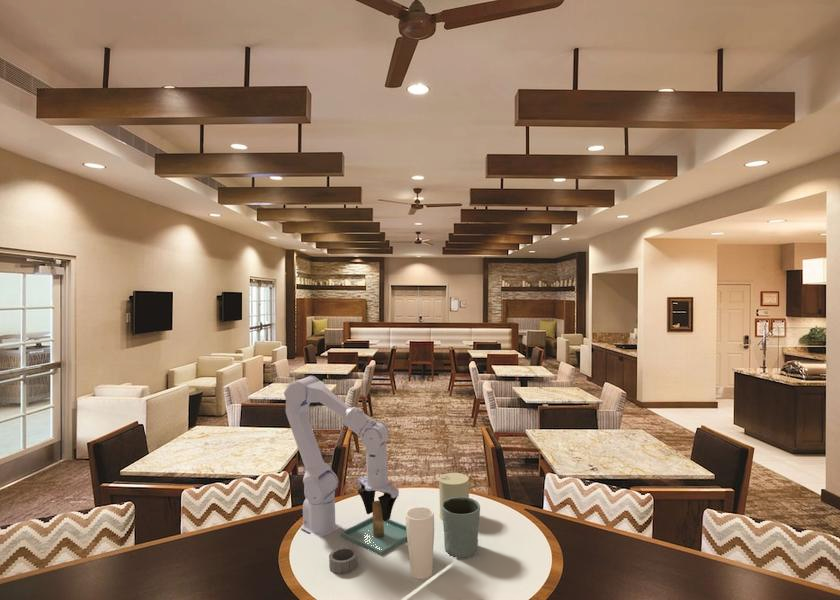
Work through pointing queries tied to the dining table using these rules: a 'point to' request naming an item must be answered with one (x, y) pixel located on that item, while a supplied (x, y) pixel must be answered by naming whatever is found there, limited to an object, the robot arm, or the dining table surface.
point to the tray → (390, 540)
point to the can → (452, 487)
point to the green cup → (461, 526)
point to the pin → (377, 520)
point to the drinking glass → (420, 541)
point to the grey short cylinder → (343, 560)
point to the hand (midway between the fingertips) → (378, 516)
